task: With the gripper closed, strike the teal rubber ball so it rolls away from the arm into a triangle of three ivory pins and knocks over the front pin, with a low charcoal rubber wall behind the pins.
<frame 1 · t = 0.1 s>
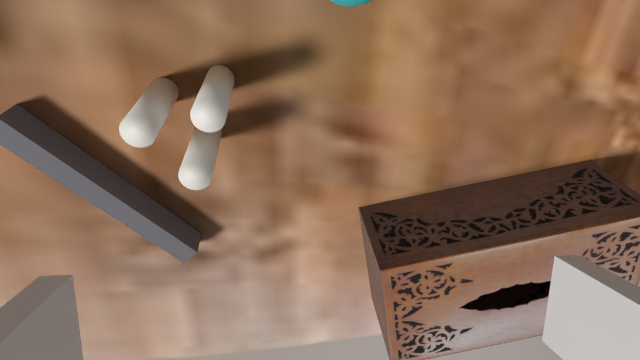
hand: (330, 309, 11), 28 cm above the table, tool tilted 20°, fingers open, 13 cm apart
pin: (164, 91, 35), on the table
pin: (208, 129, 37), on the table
back wall: (113, 182, 39), on the table
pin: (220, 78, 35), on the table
tissue box cover: (470, 231, 48), on the table
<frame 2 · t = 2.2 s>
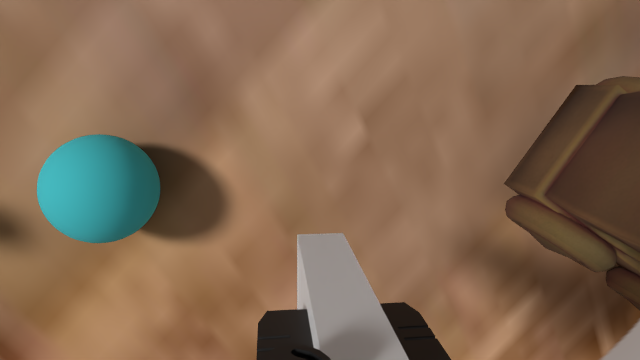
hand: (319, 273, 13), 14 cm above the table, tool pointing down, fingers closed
wooden toy train: (603, 197, 30), on the table
ball: (102, 188, 23), on the table
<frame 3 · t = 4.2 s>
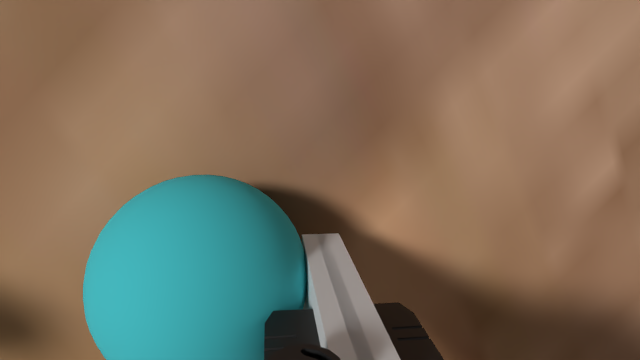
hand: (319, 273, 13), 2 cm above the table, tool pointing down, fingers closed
ball: (203, 278, 12), on the table, touching gripper
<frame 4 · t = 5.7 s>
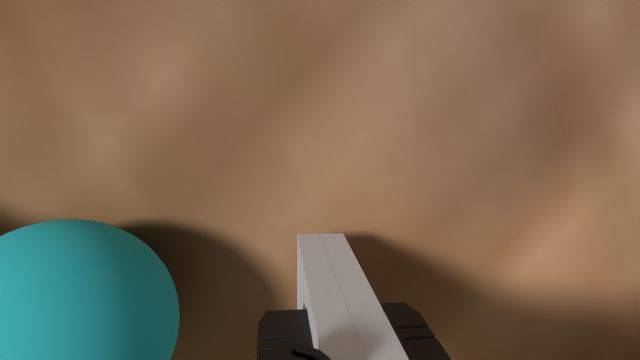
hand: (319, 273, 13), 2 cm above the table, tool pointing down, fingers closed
ball: (64, 328, 11), on the table
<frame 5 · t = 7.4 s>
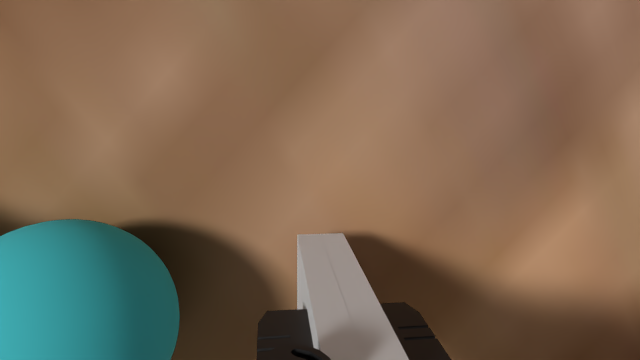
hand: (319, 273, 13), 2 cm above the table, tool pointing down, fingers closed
ball: (64, 328, 11), on the table
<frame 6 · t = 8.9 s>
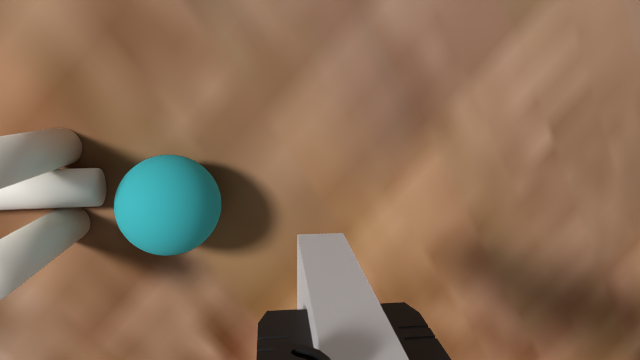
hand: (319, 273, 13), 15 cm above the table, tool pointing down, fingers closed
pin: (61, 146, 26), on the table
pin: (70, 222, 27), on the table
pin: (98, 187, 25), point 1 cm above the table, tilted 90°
ball: (170, 204, 24), on the table
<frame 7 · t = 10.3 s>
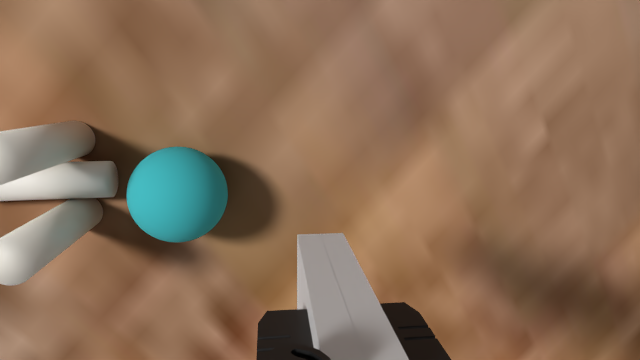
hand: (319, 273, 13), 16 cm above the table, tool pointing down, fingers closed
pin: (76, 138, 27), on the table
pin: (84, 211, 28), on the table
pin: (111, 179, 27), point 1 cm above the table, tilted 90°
ball: (179, 194, 26), on the table
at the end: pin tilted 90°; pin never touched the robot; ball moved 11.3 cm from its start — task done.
